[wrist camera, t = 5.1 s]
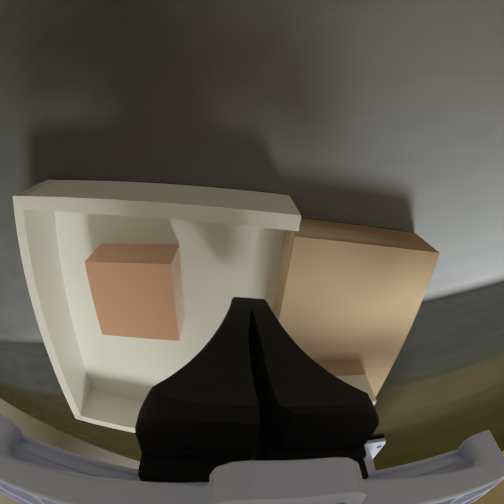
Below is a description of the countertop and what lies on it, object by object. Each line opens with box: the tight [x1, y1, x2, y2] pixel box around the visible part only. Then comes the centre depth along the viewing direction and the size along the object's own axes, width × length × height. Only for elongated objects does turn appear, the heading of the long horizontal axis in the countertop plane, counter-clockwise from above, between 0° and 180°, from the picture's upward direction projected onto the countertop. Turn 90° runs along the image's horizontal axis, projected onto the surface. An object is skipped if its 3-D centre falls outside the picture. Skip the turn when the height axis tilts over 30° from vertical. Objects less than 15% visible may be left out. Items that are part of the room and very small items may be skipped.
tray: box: [13, 180, 301, 433], centre depth 15 cm, size 15×12×3 cm
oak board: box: [272, 218, 439, 397], centre depth 16 cm, size 13×7×2 cm, turn 173°
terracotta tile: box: [85, 244, 185, 341], centre depth 14 cm, size 4×4×2 cm
